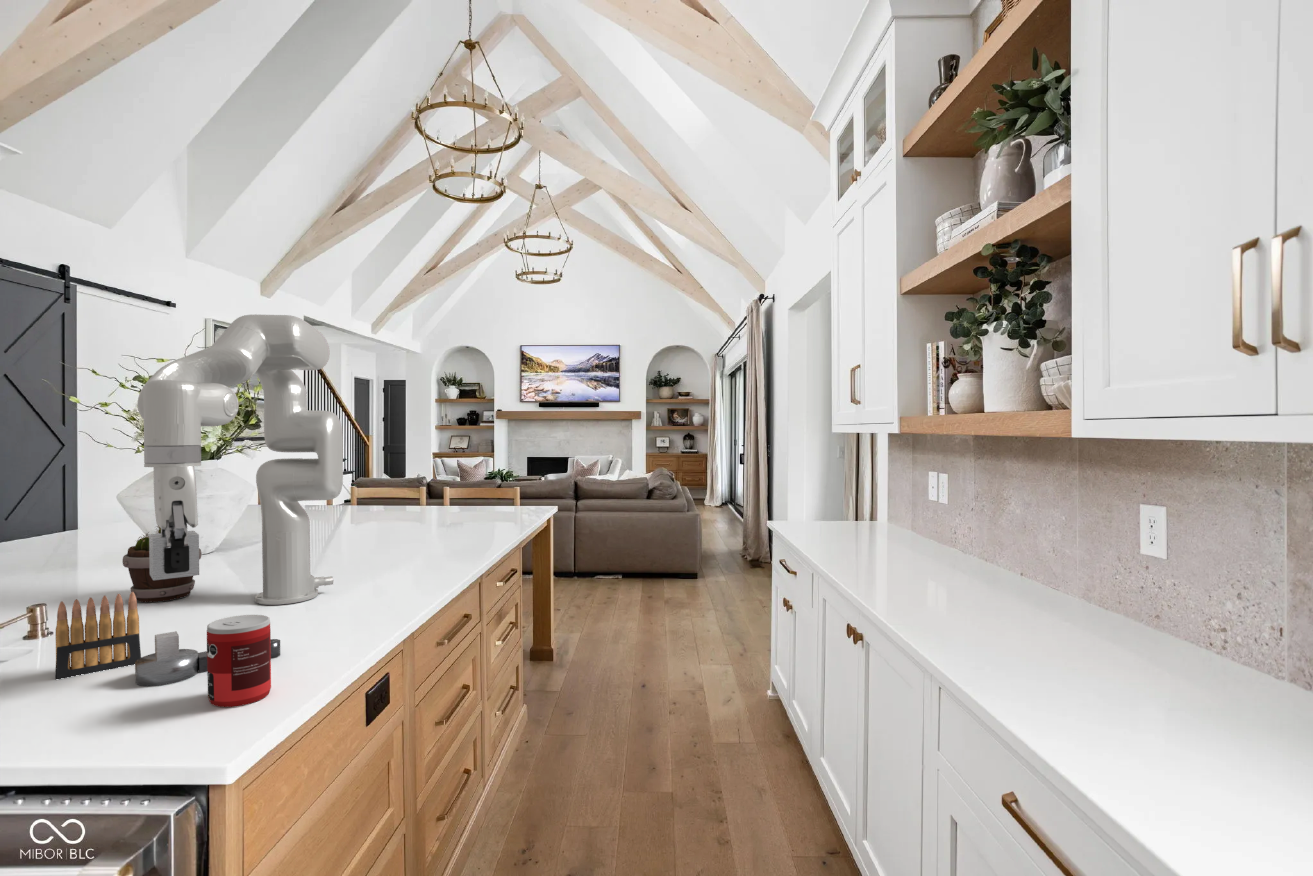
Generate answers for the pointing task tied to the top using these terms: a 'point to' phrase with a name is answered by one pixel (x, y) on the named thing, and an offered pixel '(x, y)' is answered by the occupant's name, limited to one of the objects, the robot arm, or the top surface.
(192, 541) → the socket
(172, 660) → the ratchet
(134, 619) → the ammunition clip
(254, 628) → the canned food
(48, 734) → the top surface
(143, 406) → the robot arm
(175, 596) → the flowerpot
